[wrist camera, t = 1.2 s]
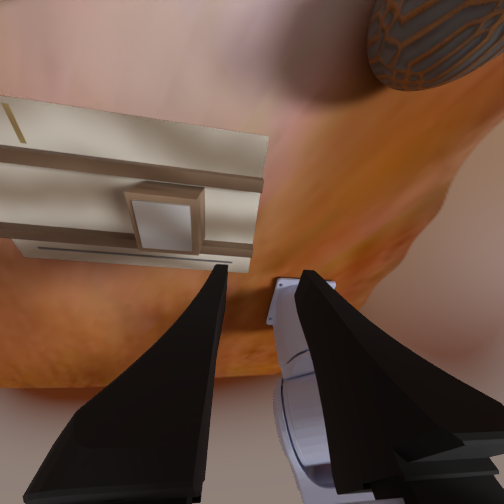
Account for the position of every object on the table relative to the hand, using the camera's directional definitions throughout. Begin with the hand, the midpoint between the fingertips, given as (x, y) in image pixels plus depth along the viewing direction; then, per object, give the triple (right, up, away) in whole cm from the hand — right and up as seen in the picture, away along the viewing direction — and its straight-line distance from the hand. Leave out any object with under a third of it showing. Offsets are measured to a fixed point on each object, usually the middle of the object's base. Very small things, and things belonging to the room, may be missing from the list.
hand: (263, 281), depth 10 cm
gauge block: (-8, +5, +7) cm, 12 cm away
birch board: (-12, +6, +8) cm, 16 cm away
